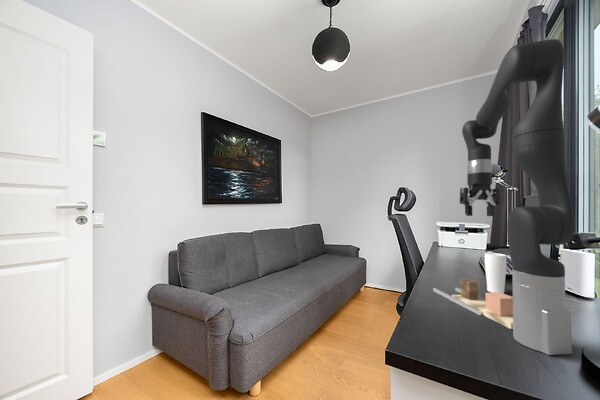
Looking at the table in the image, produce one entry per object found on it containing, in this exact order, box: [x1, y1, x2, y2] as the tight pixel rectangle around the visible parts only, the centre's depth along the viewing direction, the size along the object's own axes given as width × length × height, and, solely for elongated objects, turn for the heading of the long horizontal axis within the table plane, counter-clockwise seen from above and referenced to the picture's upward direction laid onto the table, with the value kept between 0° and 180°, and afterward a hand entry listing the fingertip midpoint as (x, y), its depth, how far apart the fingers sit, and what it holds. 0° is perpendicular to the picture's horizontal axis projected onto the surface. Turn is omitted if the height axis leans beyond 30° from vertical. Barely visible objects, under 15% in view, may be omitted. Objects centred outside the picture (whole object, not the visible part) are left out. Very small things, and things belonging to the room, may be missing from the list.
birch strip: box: [451, 278, 513, 330], centre depth 78 cm, size 22×8×8 cm, turn 6°
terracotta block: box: [485, 292, 513, 316], centre depth 74 cm, size 5×5×5 cm
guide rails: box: [432, 287, 486, 316], centre depth 87 cm, size 22×10×1 cm, turn 6°
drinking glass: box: [484, 252, 507, 294], centre depth 97 cm, size 7×7×15 cm
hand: (479, 216), depth 91 cm, fingers open, 8 cm apart
